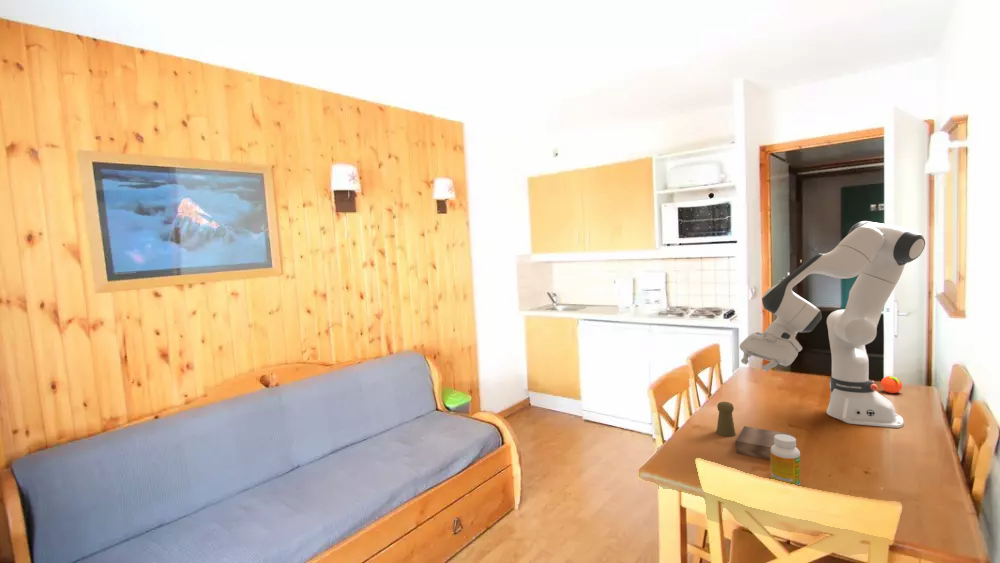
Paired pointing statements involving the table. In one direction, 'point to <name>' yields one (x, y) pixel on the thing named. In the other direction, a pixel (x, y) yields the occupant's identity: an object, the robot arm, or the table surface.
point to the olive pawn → (725, 419)
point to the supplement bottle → (785, 459)
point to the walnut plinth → (756, 442)
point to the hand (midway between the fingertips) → (753, 366)
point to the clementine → (891, 384)
